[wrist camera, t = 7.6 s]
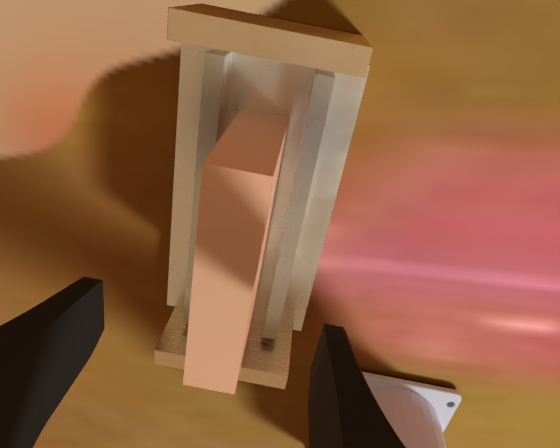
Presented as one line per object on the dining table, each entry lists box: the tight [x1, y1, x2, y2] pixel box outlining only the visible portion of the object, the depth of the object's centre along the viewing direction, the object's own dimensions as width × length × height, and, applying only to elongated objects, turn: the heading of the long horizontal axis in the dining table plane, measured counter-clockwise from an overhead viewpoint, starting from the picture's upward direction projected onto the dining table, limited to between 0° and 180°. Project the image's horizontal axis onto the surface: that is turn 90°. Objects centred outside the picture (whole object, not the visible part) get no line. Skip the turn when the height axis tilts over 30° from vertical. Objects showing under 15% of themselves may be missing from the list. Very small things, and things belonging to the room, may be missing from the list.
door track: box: [154, 4, 373, 389], centre depth 21 cm, size 17×8×4 cm, turn 170°
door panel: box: [183, 108, 289, 394], centre depth 19 cm, size 10×2×7 cm, turn 170°
